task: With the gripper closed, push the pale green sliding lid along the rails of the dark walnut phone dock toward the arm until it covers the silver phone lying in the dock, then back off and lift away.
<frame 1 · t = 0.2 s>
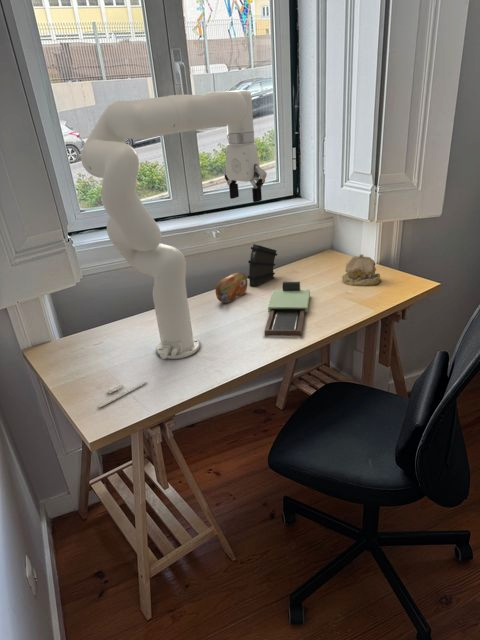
hand: (245, 199, 151), 37 cm above the table, tool pointing down, fingers open, 9 cm apart
tin: (232, 298, 180), on the table
picture light: (118, 393, 130), on the table
phone: (285, 323, 158), point 1 cm above the table, touching dock
ceramic model: (360, 280, 188), on the table
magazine: (263, 281, 194), on the table
lid: (289, 296, 169), point 4 cm above the table, slide at 0.0 cm
dock: (287, 316, 164), on the table
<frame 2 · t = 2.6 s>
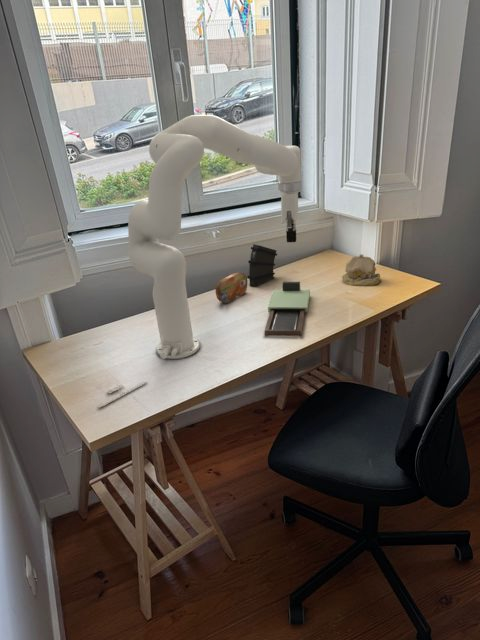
hand: (291, 241, 172), 19 cm above the table, tool pointing down, fingers closed
nothing on the table moved.
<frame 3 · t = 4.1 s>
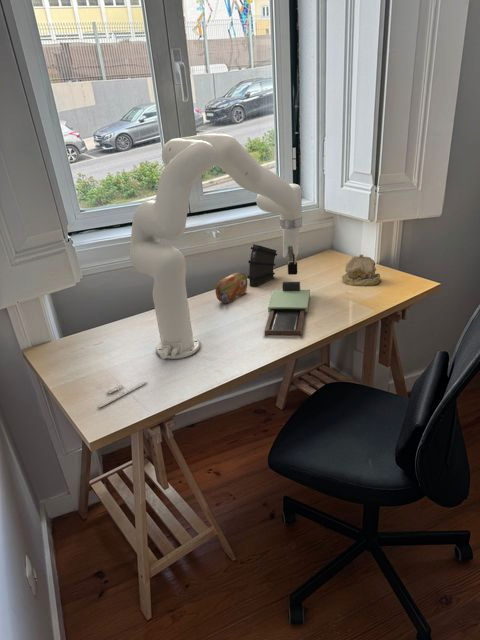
hand: (292, 273, 178), 7 cm above the table, tool pointing down, fingers closed
nothing on the table moved.
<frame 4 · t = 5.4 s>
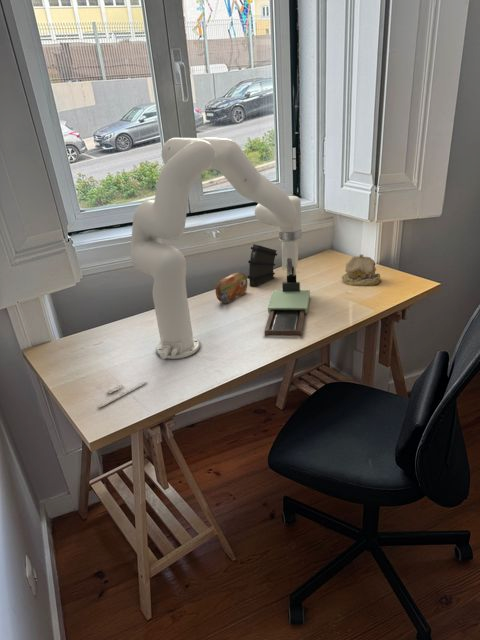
hand: (291, 285, 176), 4 cm above the table, tool pointing down, fingers closed
lid: (289, 297, 168), point 4 cm above the table, slide at 0.5 cm, touching gripper
everything else where it was.
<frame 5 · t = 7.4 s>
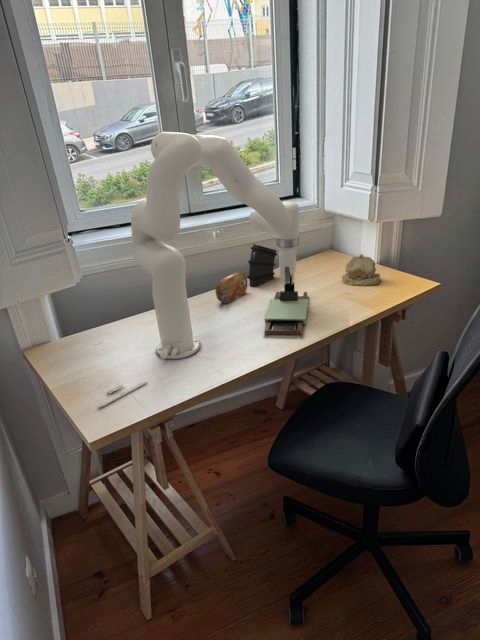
hand: (289, 294, 169), 4 cm above the table, tool pointing down, fingers closed
lid: (287, 306, 161), point 4 cm above the table, slide at 8.5 cm, touching gripper
everything else where it was.
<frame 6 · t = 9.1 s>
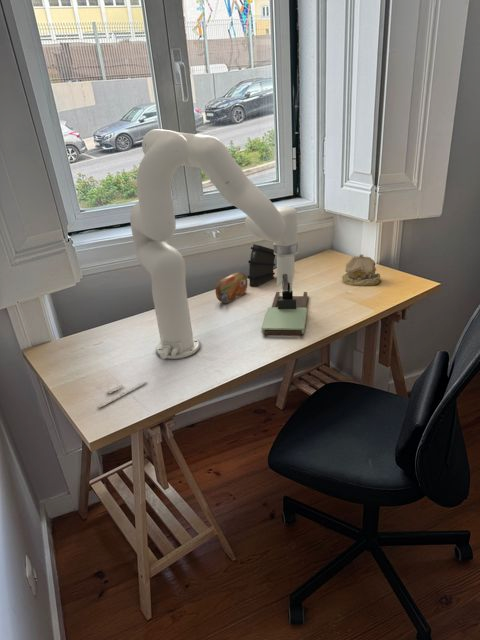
hand: (287, 302, 164), 4 cm above the table, tool pointing down, fingers closed
lid: (284, 315, 156), point 4 cm above the table, slide at 15.1 cm, touching gripper
everything else where it was.
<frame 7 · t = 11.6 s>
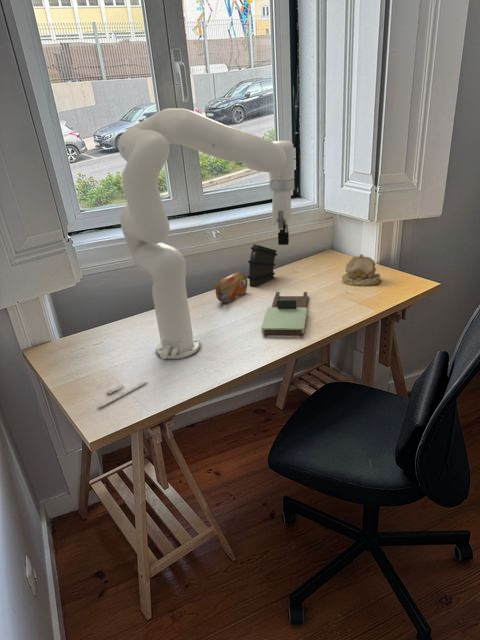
hand: (283, 244, 160), 22 cm above the table, tool pointing down, fingers closed
lid: (284, 315, 156), point 4 cm above the table, slide at 15.0 cm
everything else where it was.
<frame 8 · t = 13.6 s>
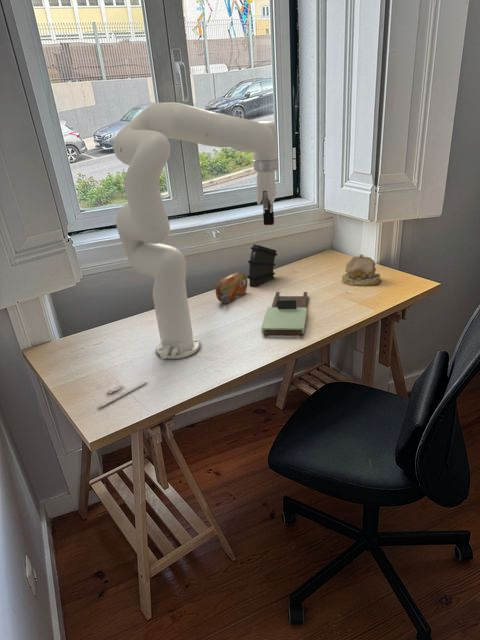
hand: (269, 224, 163), 27 cm above the table, tool pointing down, fingers closed
nothing on the table moved.
at the end: lid slide at 15.0 cm; phone moved 0.0 cm from its start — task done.
